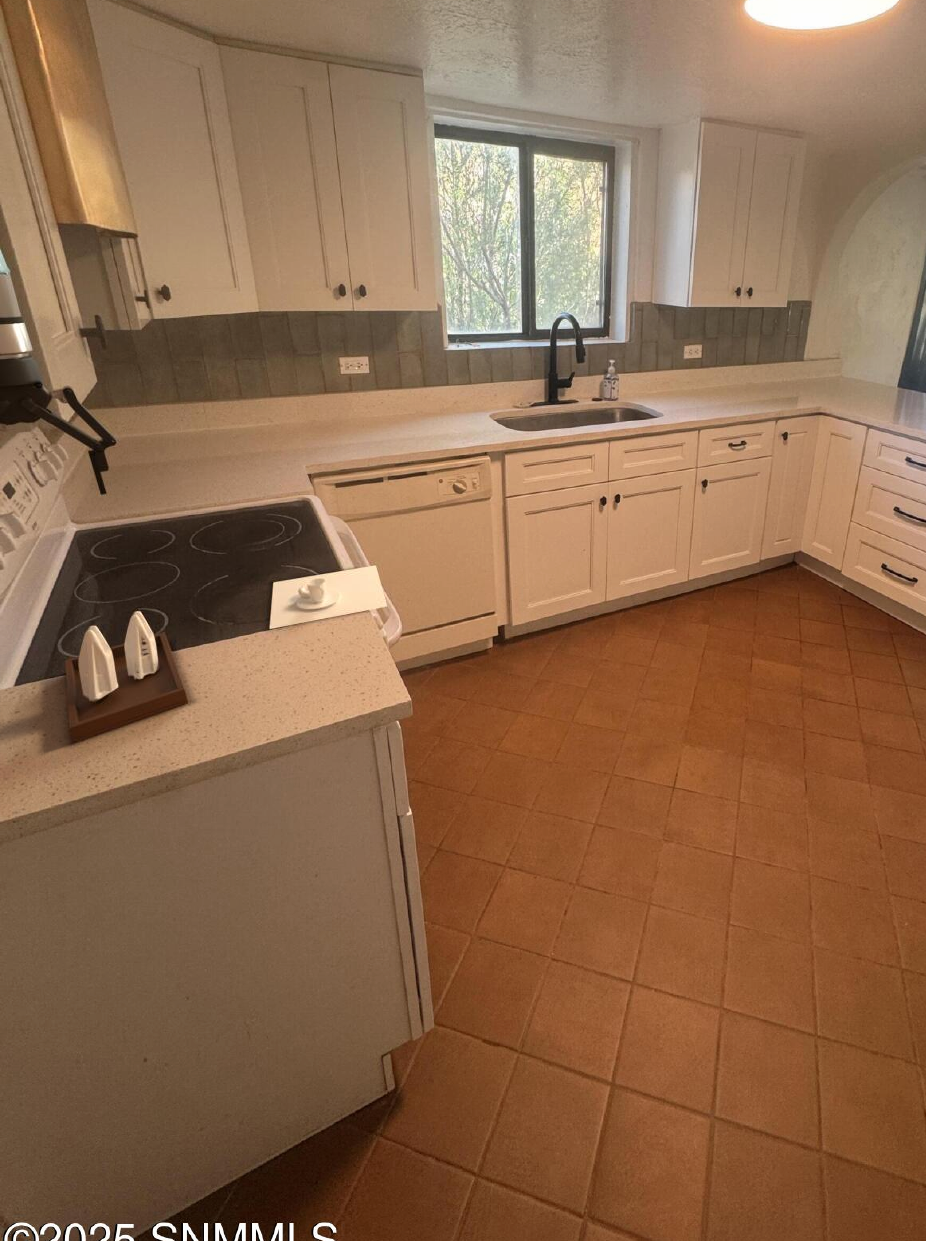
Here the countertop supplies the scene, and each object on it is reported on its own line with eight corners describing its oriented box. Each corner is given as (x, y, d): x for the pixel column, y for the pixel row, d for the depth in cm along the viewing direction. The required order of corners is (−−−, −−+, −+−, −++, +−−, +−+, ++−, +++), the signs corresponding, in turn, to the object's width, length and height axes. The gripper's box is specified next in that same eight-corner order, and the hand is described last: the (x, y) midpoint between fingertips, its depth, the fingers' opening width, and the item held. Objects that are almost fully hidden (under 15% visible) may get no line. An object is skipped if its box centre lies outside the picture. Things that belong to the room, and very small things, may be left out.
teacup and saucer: (296, 594, 122) (292, 575, 121) (339, 586, 125) (336, 568, 124) (296, 614, 115) (292, 595, 113) (342, 606, 118) (339, 586, 116)
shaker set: (97, 712, 88) (74, 644, 84) (74, 707, 89) (50, 640, 85) (170, 664, 99) (152, 603, 95) (149, 661, 100) (130, 599, 96)
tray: (69, 673, 98) (64, 660, 97) (167, 644, 106) (164, 631, 105) (74, 742, 83) (69, 728, 82) (188, 702, 91) (184, 689, 90)
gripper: (108, 348, 96) (143, 479, 103) (-129, 360, 81) (-68, 513, 88) (112, 352, 91) (149, 490, 98) (-141, 366, 76) (-75, 528, 83)
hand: (46, 501), depth 93 cm, fingers open, 13 cm apart
